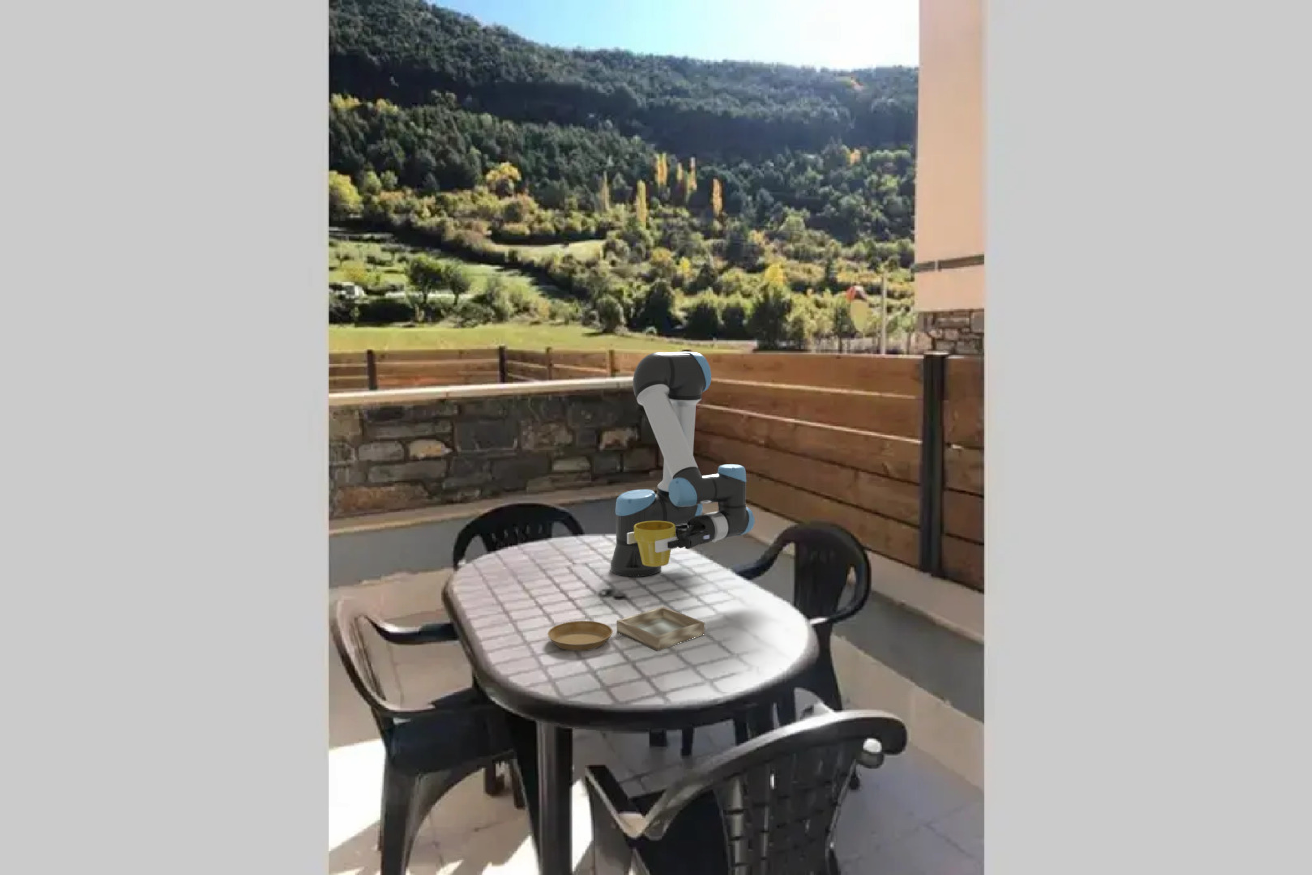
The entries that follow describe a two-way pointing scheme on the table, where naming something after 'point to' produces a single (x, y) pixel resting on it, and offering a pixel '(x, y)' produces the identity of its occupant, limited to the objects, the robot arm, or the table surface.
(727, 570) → the table surface
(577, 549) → the table surface
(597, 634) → the plant saucer
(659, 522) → the plant pot
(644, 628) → the tray
